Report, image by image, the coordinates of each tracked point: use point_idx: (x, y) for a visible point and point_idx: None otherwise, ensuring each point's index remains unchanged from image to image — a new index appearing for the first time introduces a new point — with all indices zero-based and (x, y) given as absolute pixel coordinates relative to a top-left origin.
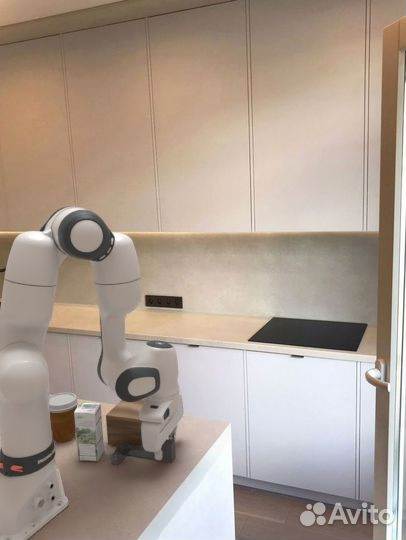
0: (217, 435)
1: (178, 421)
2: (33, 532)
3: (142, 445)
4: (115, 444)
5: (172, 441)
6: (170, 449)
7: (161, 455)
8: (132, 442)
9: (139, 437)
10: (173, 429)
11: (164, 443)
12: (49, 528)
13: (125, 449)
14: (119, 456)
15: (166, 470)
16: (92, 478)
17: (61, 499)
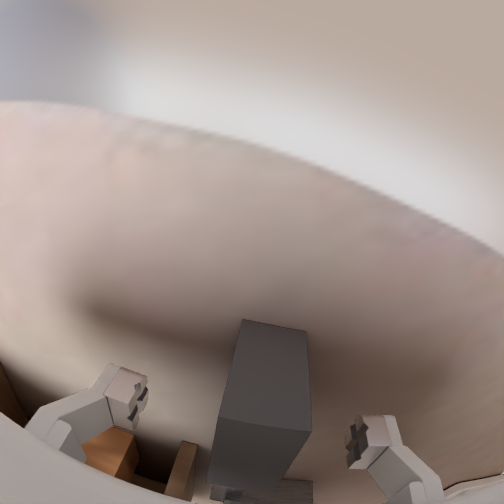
0: (5, 106)
1: (30, 451)
2: (502, 476)
3: (184, 452)
4: (192, 490)
5: (241, 429)
6: (308, 406)
7: (396, 435)
8: (190, 481)
9: (184, 492)
10: (167, 500)
11: (277, 462)
12: (500, 467)
13: (245, 494)
14: (296, 499)
15: (383, 346)
16: (373, 495)
17: (450, 498)
